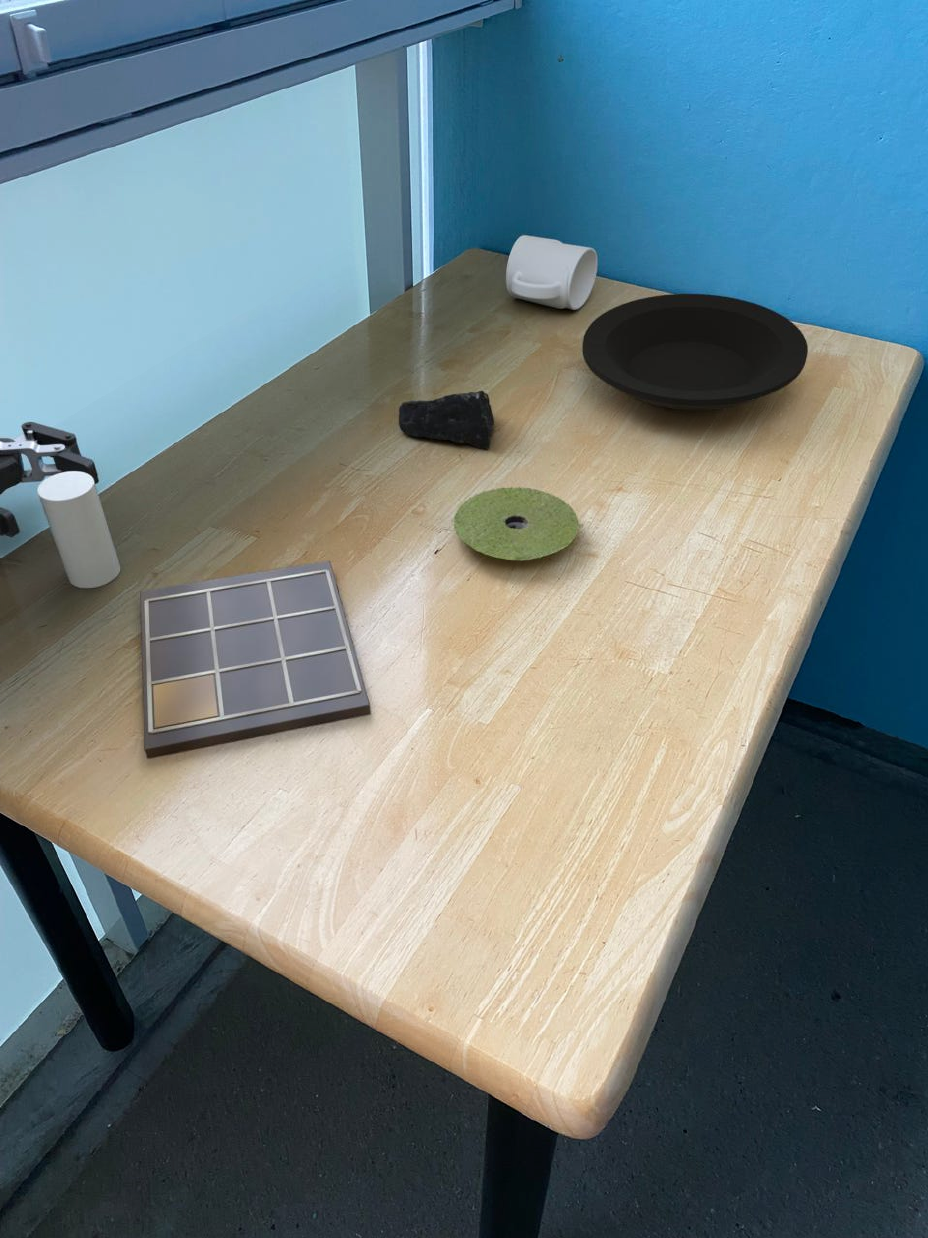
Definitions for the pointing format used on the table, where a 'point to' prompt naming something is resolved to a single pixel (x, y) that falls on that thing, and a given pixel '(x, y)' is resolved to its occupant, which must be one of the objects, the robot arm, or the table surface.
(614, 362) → the plate
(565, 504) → the green grinding disc
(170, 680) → the board
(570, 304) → the mug
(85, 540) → the tall white cylinder
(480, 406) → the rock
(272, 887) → the table surface
